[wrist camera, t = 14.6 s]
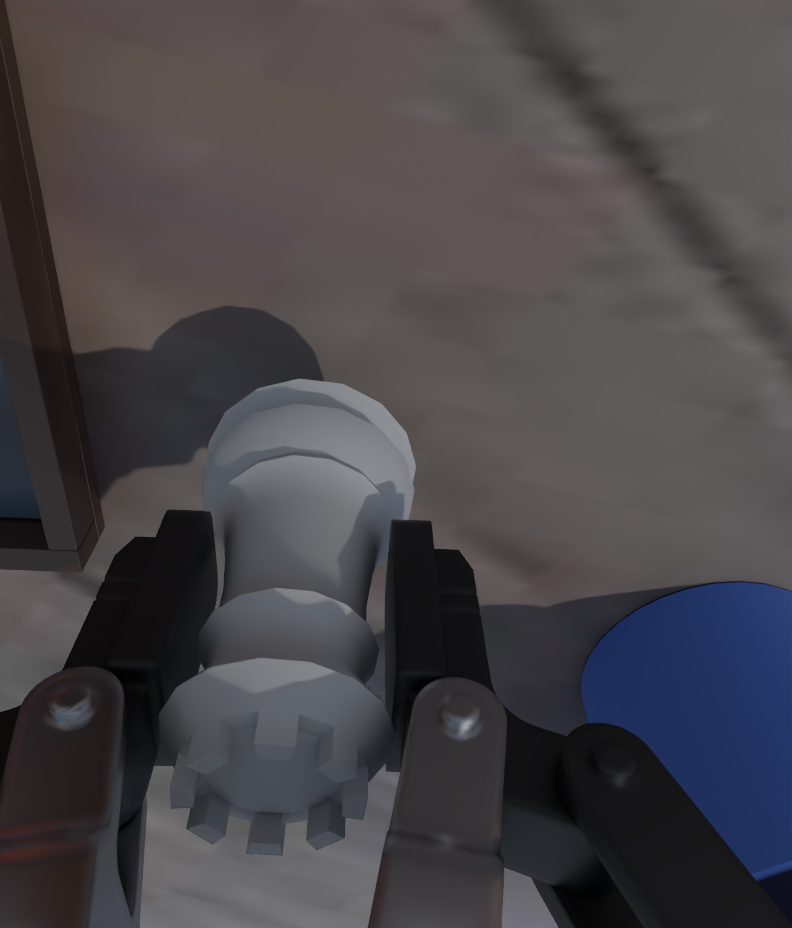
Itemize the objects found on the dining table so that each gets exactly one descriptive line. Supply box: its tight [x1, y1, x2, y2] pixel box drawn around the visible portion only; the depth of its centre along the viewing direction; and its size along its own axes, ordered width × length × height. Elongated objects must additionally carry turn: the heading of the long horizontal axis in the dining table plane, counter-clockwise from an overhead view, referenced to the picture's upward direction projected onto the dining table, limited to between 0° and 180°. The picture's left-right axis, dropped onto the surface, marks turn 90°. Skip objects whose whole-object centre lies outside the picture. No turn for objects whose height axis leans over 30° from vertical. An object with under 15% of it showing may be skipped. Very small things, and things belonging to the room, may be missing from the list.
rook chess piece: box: [159, 379, 416, 856], centre depth 13 cm, size 4×4×8 cm
